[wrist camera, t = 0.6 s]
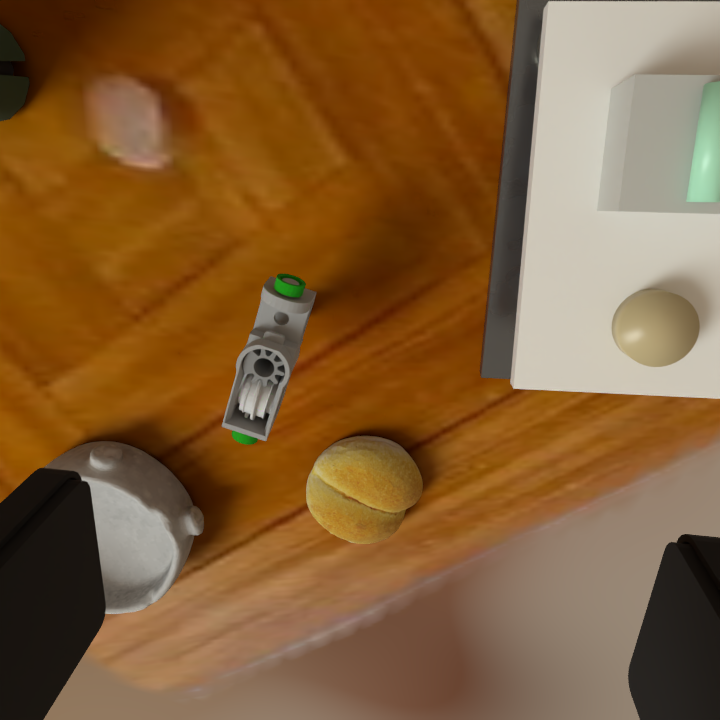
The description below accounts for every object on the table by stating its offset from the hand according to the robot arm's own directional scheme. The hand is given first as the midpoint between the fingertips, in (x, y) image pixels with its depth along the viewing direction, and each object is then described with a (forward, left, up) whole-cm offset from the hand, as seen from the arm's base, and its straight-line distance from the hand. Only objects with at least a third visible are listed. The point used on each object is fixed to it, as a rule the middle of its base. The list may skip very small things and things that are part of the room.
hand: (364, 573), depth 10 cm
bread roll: (+21, -2, -33) cm, 39 cm away
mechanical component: (+7, -7, -32) cm, 34 cm away
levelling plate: (-1, +14, -27) cm, 31 cm away
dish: (+25, -22, -33) cm, 47 cm away
